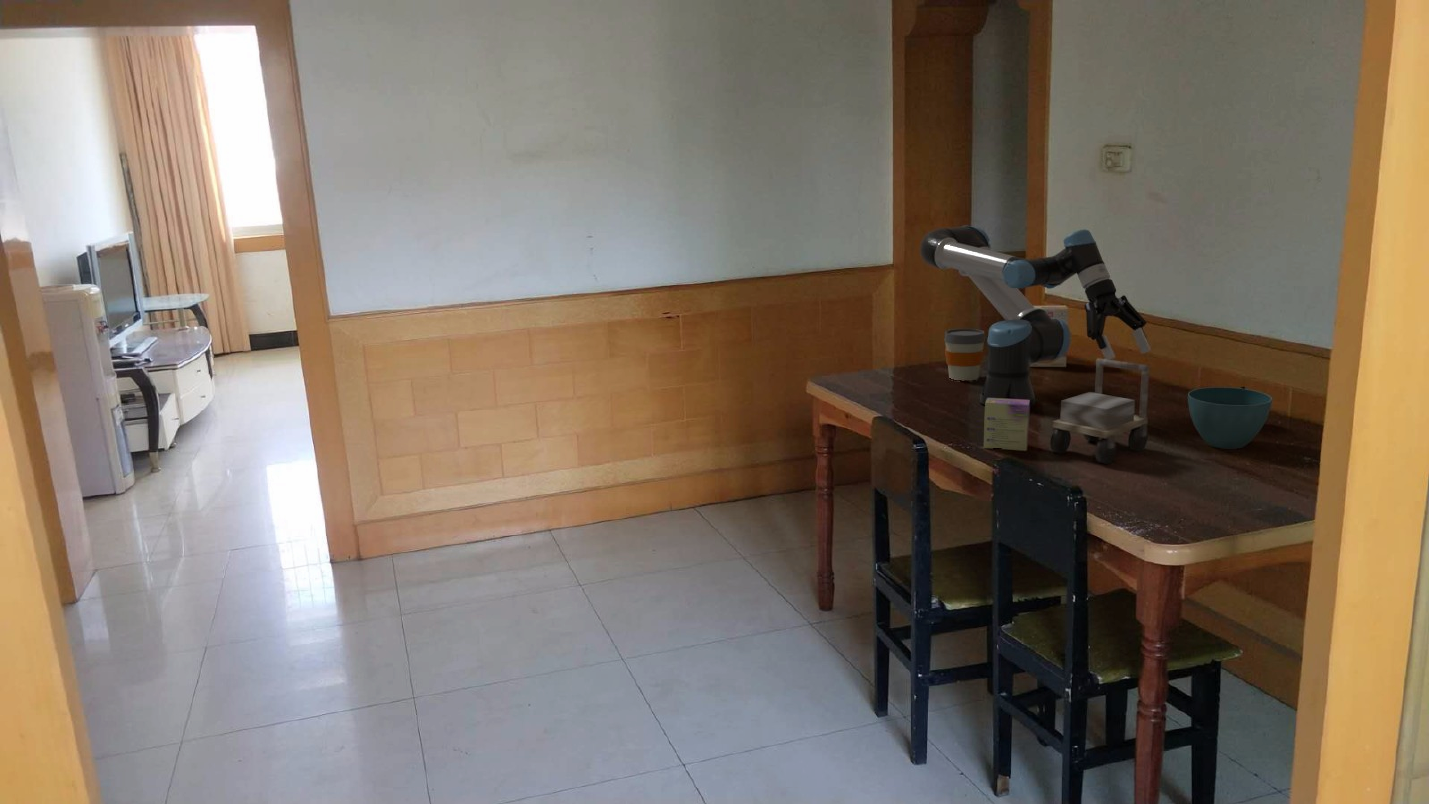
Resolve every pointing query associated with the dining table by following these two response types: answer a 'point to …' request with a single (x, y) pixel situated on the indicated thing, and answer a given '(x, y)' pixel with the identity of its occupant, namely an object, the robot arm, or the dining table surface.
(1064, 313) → the coffeecake box
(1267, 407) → the teal bowl
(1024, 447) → the box
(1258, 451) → the dining table surface
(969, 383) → the dining table surface
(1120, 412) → the trolley
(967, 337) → the reusable coffee cup
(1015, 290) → the robot arm
